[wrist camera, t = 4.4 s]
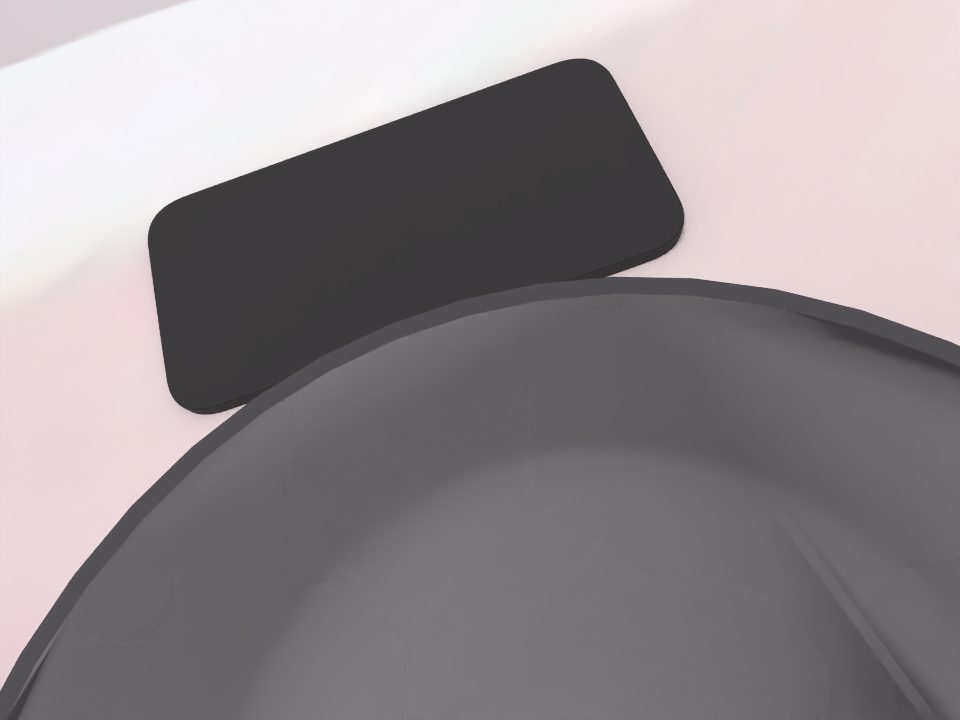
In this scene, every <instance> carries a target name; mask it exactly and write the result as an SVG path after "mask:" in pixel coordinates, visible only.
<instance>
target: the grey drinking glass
mask: <svg viewBox="0 0 960 720" xmlns="http://www.w3.org/2000/svg"><path fill="white" fill-rule="evenodd" d="M0 720H960V346H958V345H956V344H954V343H952V342H949V341H946V340H944V339H941V338H938V337H935V336H932V335H930V334H927V333H924V332H921V331H918V330H916V329H913V328H910V327H907V326H904V325H902V324H899V323H896V322H893V321H890V320H888V319H885V318H882V317H879V316H876V315H874V314H871V313H868V312H865V311H862V310H859V309H855V308H850V307H846V306H842V305H838V304H834V303H830V302H826V301H822V300H818V299H813V298H809V297H805V296H801V295H797V294H793V293H789V292H785V291H781V290H776V289H769V288H762V287H754V286H747V285H739V284H731V283H724V282H716V281H709V280H701V279H693V278H645V277H606V278H596V279H585V280H575V281H564V282H554V283H543V284H534V285H530V286H525V287H520V288H516V289H511V290H506V291H502V292H497V293H492V294H487V295H483V296H478V297H473V298H469V299H464V300H460V301H457V302H454V303H451V304H448V305H445V306H442V307H439V308H437V309H434V310H431V311H428V312H425V313H422V314H419V315H416V316H413V317H410V318H407V319H404V320H401V321H398V322H395V323H392V324H389V325H387V326H385V327H383V328H381V329H379V330H377V331H375V332H372V333H370V334H368V335H366V336H364V337H362V338H360V339H358V340H356V341H353V342H351V343H349V344H347V345H345V346H343V347H341V348H339V349H336V350H334V351H332V352H330V353H328V354H326V355H324V356H322V357H320V358H318V359H317V360H315V361H314V362H312V363H310V364H309V365H307V366H305V367H304V368H302V369H301V370H299V371H297V372H296V373H294V374H292V375H291V376H289V377H288V378H286V379H284V380H283V381H281V382H280V383H278V384H276V385H275V386H273V387H271V388H270V389H268V390H267V391H265V392H263V393H262V394H260V395H259V396H257V397H255V398H254V399H253V400H252V401H250V402H249V403H248V404H246V405H245V406H244V407H243V408H241V409H240V410H239V411H237V412H236V413H235V414H234V415H232V416H231V417H230V418H229V419H227V420H226V421H225V422H223V423H222V424H221V425H220V426H218V427H217V428H216V429H215V430H213V431H212V432H211V433H209V434H208V435H207V436H206V437H204V438H203V439H202V440H200V441H199V442H198V443H197V444H195V445H194V446H193V447H192V448H191V449H190V450H189V451H188V452H186V453H185V454H184V455H183V456H182V457H181V458H180V459H179V460H178V461H177V462H176V463H175V464H174V465H173V466H172V467H171V468H170V469H169V470H168V471H167V472H166V473H165V474H164V475H163V476H162V477H161V478H160V479H159V480H158V481H157V482H156V483H155V484H154V485H153V486H152V487H151V488H150V489H149V490H147V491H146V492H145V493H144V494H143V495H142V496H141V497H140V498H139V499H138V500H137V501H136V502H135V503H134V504H133V505H132V506H131V507H130V508H129V510H128V511H127V512H126V513H125V514H124V516H123V517H122V518H121V519H120V520H119V522H118V523H117V524H116V525H115V526H114V528H113V529H112V530H111V531H110V532H109V534H108V535H107V536H106V537H105V538H104V540H103V541H102V542H101V543H100V544H99V546H98V547H97V548H96V549H95V550H94V552H93V553H92V554H91V555H90V556H89V558H88V559H87V560H86V561H85V562H84V564H83V565H82V566H81V567H80V568H79V570H78V571H77V572H76V573H75V574H74V576H73V577H72V579H71V580H70V582H69V583H68V585H67V586H66V588H65V589H64V591H63V592H62V594H61V595H60V597H59V598H58V599H57V601H56V602H55V604H54V605H53V607H52V608H51V610H50V611H49V613H48V614H47V616H46V617H45V619H44V620H43V622H42V623H41V625H40V626H39V628H38V629H37V630H36V632H35V633H34V635H33V636H32V638H31V639H30V641H29V642H28V644H27V645H26V647H25V648H24V650H23V651H22V653H21V654H20V656H19V658H18V660H17V661H16V663H15V665H14V667H13V669H12V671H11V672H10V674H9V676H8V678H7V680H6V682H5V683H4V685H3V687H2V689H1V691H0Z"/></svg>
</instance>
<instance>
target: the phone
mask: <svg viewBox="0 0 960 720" xmlns="http://www.w3.org/2000/svg"><path fill="white" fill-rule="evenodd" d="M683 224H684V211H683V207H682V204H681V201H680V199H679V197H678V195H677V193H676V191H675V190H674V188H673V186H672V184H671V182H670V180H669V178H668V177H667V175H666V173H665V171H664V169H663V167H662V165H661V164H660V162H659V160H658V158H657V156H656V154H655V153H654V151H653V149H652V147H651V145H650V143H649V142H648V140H647V138H646V136H645V134H644V132H643V131H642V129H641V127H640V125H639V123H638V122H637V120H636V118H635V116H634V114H633V112H632V111H631V109H630V107H629V105H628V103H627V102H626V100H625V98H624V96H623V94H622V93H621V91H620V89H619V87H618V85H617V84H616V82H615V80H614V78H613V77H612V75H611V74H610V72H609V71H608V70H607V69H606V68H605V67H604V66H602V65H601V64H599V63H597V62H595V61H592V60H589V59H569V60H565V61H561V62H558V63H555V64H552V65H549V66H546V67H543V68H540V69H538V70H535V71H532V72H529V73H526V74H524V75H521V76H518V77H515V78H512V79H510V80H507V81H504V82H501V83H499V84H496V85H493V86H490V87H487V88H485V89H482V90H479V91H476V92H474V93H471V94H468V95H465V96H462V97H460V98H457V99H454V100H451V101H449V102H446V103H443V104H440V105H437V106H435V107H432V108H429V109H426V110H423V111H421V112H418V113H415V114H412V115H410V116H407V117H404V118H401V119H398V120H396V121H393V122H390V123H387V124H385V125H382V126H379V127H376V128H373V129H371V130H368V131H365V132H362V133H360V134H357V135H354V136H351V137H348V138H346V139H343V140H340V141H337V142H334V143H332V144H329V145H326V146H323V147H321V148H318V149H315V150H312V151H309V152H307V153H304V154H301V155H298V156H296V157H293V158H290V159H287V160H284V161H282V162H279V163H276V164H273V165H271V166H268V167H265V168H262V169H259V170H257V171H254V172H251V173H248V174H245V175H243V176H240V177H237V178H234V179H232V180H229V181H226V182H223V183H220V184H218V185H215V186H212V187H209V188H207V189H204V190H201V191H198V192H195V193H193V194H190V195H187V196H185V197H182V198H180V199H178V200H175V201H173V202H172V203H170V204H168V205H167V206H165V207H164V208H163V209H162V210H161V211H160V212H159V213H158V214H157V215H156V216H155V218H154V219H153V221H152V223H151V225H150V228H149V233H148V247H149V256H150V263H151V271H152V278H153V285H154V293H155V300H156V307H157V314H158V322H159V329H160V336H161V343H162V350H163V357H164V364H165V371H166V377H167V383H168V387H169V390H170V393H171V395H172V397H173V398H174V400H175V401H176V402H177V403H178V404H179V405H180V406H182V407H183V408H185V409H187V410H189V411H191V412H193V413H197V414H215V413H219V412H223V411H226V410H229V409H232V408H235V407H238V406H241V405H244V404H247V403H249V402H250V401H252V400H253V399H254V398H255V397H257V396H259V395H260V394H262V393H263V392H265V391H267V390H268V389H270V388H271V387H273V386H275V385H276V384H278V383H280V382H281V381H283V380H284V379H286V378H288V377H289V376H291V375H292V374H294V373H296V372H297V371H299V370H301V369H302V368H304V367H305V366H307V365H309V364H310V363H312V362H314V361H315V360H317V359H318V358H320V357H322V356H324V355H326V354H328V353H330V352H332V351H334V350H336V349H339V348H341V347H343V346H345V345H347V344H349V343H351V342H353V341H356V340H358V339H360V338H362V337H364V336H366V335H368V334H370V333H372V332H375V331H377V330H379V329H381V328H383V327H385V326H387V325H389V324H392V323H395V322H398V321H401V320H404V319H407V318H410V317H413V316H416V315H419V314H422V313H425V312H428V311H431V310H434V309H437V308H439V307H442V306H445V305H448V304H451V303H454V302H457V301H460V300H464V299H469V298H473V297H478V296H483V295H487V294H492V293H497V292H502V291H506V290H511V289H516V288H520V287H525V286H530V285H534V284H543V283H554V282H564V281H575V280H585V279H596V278H604V277H607V276H610V275H613V274H616V273H618V272H621V271H624V270H627V269H630V268H633V267H635V266H638V265H641V264H644V263H646V262H649V261H652V260H654V259H656V258H658V257H660V256H662V255H664V254H666V253H667V252H668V251H670V250H671V249H672V248H673V247H674V246H675V245H676V243H677V242H678V240H679V238H680V235H681V232H682V228H683Z"/></svg>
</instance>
